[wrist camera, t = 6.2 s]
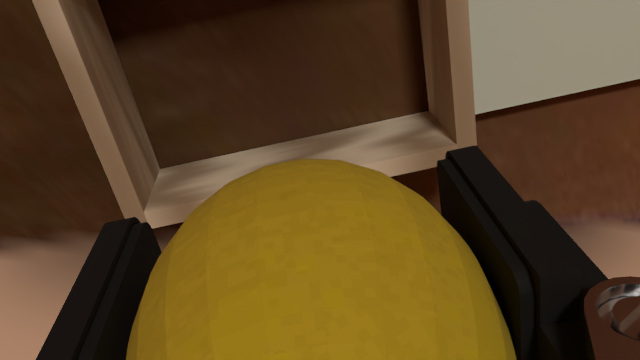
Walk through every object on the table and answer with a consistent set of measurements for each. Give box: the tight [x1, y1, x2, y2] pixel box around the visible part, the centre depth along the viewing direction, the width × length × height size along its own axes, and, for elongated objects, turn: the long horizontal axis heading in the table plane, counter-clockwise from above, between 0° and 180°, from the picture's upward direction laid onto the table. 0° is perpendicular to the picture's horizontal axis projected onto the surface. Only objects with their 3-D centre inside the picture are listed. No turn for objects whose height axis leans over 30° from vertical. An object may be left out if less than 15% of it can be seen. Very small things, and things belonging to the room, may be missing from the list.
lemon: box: [126, 159, 517, 360], centre depth 8 cm, size 6×6×8 cm
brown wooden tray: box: [32, 0, 477, 229], centre depth 26 cm, size 18×14×5 cm
